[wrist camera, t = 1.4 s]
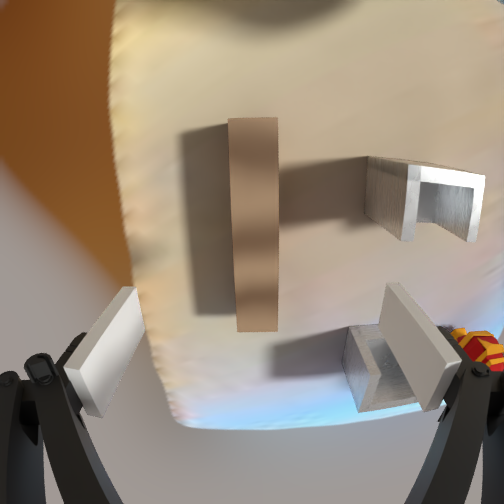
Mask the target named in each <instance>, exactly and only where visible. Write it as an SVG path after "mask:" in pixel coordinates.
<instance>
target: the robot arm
mask: <svg viewBox="0 0 504 504" xmlns="http://www.w3.org/2000/svg"><path fill="white" fill-rule="evenodd" d="M497 1H499V2H500V3H502V4H504V0H497ZM378 328H379V330H380V331H381V333H382V335H383V337H384V338H385V340H386V342H387V344H388V345H389V347H390V349H391V351H392V353H393V354H394V356H395V358H396V360H397V362H398V364H399V365H400V367H401V369H402V371H403V373H404V375H405V377H406V379H407V380H408V382H409V384H410V386H411V388H412V390H413V392H414V394H415V396H416V398H417V400H418V402H419V404H420V406H421V408H422V410H423V412H427V411H431V410H434V409H438V408H439V406H440V404H441V402H442V400H443V399H444V401H445V402H446V404H447V406H446V407H445V409H444V411H443V413H442V415H441V416H440V418H439V420H438V422H440V423H439V426H438V429H437V432H436V434H435V437H434V440H433V443H432V445H431V447H430V450H429V453H428V455H427V457H426V460H425V462H424V464H423V466H422V469H421V471H420V473H419V475H418V478H417V479H416V482H415V484H414V486H413V488H412V490H411V492H410V494H409V496H408V498H407V499H406V501H405V503H404V504H464V503H465V500H466V497H467V494H468V491H469V488H470V485H471V482H472V478H473V475H474V472H475V468H476V464H477V461H478V457H479V452H480V448H481V444H482V442H483V482H482V498H481V504H504V369H503V371H491V369H490V368H489V367H488V366H487V365H486V364H484V363H482V362H478V361H472V360H471V359H470V357H469V356H468V355H467V353H466V352H465V351H464V350H463V348H462V347H461V346H460V345H458V342H457V341H456V340H455V339H454V337H453V336H452V335H451V334H450V332H449V331H447V330H446V329H444V328H443V327H441V326H437V327H436V326H435V325H434V323H433V322H432V321H431V320H430V319H429V317H428V316H427V315H426V314H425V312H424V311H423V310H422V309H421V308H420V307H419V305H418V304H417V303H416V302H415V301H414V299H413V298H412V297H411V296H410V295H409V294H408V292H407V291H406V290H405V289H404V288H403V287H402V286H401V284H400V283H387V284H386V289H385V295H384V300H383V305H382V310H381V314H380V319H379V324H378ZM144 332H145V327H144V322H143V318H142V313H141V309H140V304H139V299H138V294H137V289H136V287H122V289H121V290H120V291H119V293H118V294H117V295H116V296H115V298H114V299H113V300H112V302H111V303H110V304H109V305H108V307H107V308H106V309H105V310H104V312H103V313H102V314H101V316H100V317H99V318H98V320H97V321H96V322H95V324H94V325H93V326H92V328H91V329H90V330H89V332H88V333H85V332H84V333H81V334H80V335H78V336H77V337H75V338H74V340H73V341H72V342H71V344H70V346H68V348H67V349H66V351H65V352H64V353H63V354H62V356H61V357H60V358H59V360H58V361H57V363H56V364H54V362H53V360H52V358H51V356H50V355H48V354H46V353H39V354H35V355H33V356H31V357H30V358H29V359H27V361H26V362H25V364H24V369H25V371H26V372H27V375H28V377H29V378H30V380H21V379H20V378H19V376H18V374H17V373H16V372H14V371H7V372H4V373H2V374H1V375H0V504H46V498H45V486H44V462H43V440H44V443H45V447H46V451H47V454H48V458H49V461H50V464H51V468H52V471H53V474H54V477H55V480H56V482H57V486H58V488H59V491H60V494H61V496H62V499H63V501H64V504H123V502H122V501H121V499H120V497H119V495H118V494H117V492H116V490H115V488H114V486H113V484H112V482H111V480H110V478H109V477H108V475H107V473H106V471H105V469H104V467H103V465H102V463H101V461H100V458H99V456H98V454H97V452H96V450H95V447H94V445H93V443H92V440H91V438H90V436H89V433H88V431H87V428H86V426H85V423H84V421H83V418H82V416H81V414H80V413H79V412H80V410H81V408H82V406H83V407H84V409H85V411H86V413H87V415H91V416H95V417H99V418H103V417H104V414H105V412H106V410H107V408H108V406H109V403H110V401H111V399H112V397H113V395H114V393H115V391H116V388H117V386H118V384H119V382H120V380H121V378H122V375H123V374H124V372H125V369H126V368H127V366H128V364H129V362H130V359H131V357H132V355H133V353H134V351H135V349H136V347H137V345H138V343H139V341H140V340H141V338H142V336H143V334H144Z"/></svg>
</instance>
